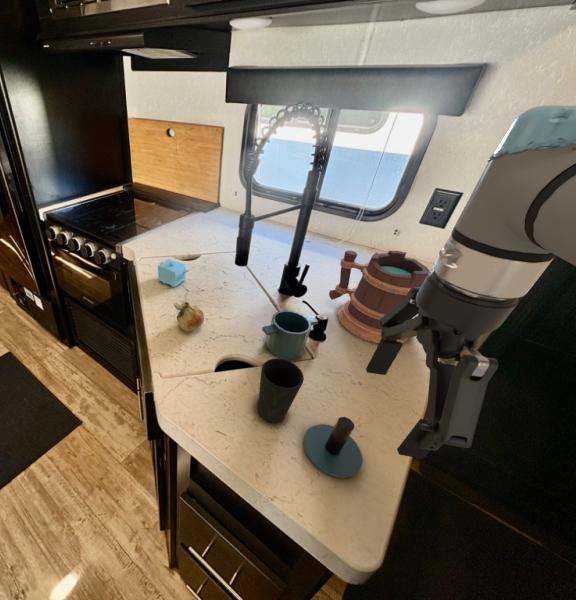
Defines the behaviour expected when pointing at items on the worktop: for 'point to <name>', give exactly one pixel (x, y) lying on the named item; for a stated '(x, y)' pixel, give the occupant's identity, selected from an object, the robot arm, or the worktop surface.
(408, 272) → the mug
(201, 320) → the onion
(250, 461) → the worktop surface
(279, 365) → the cup
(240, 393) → the worktop surface
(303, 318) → the pot
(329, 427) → the lid
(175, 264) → the light-blue knobbed box
